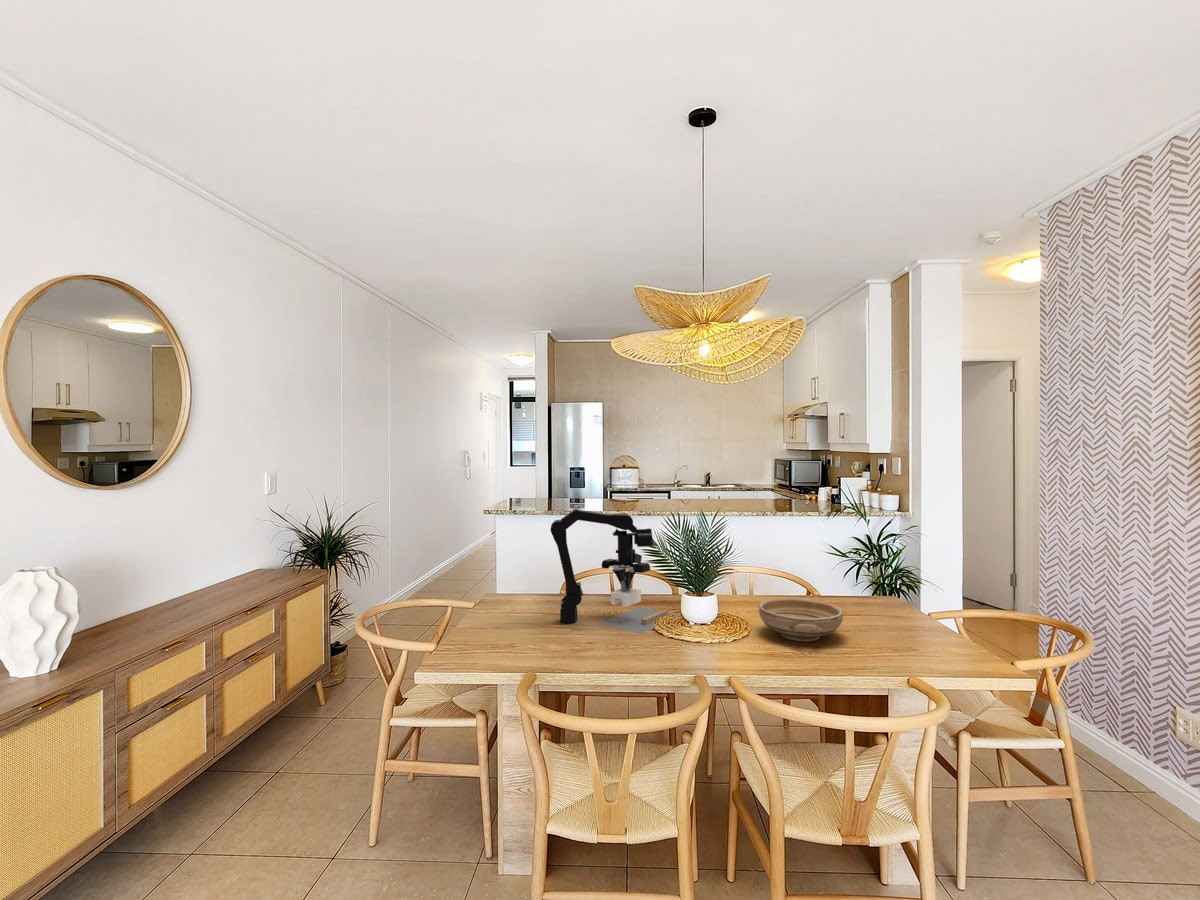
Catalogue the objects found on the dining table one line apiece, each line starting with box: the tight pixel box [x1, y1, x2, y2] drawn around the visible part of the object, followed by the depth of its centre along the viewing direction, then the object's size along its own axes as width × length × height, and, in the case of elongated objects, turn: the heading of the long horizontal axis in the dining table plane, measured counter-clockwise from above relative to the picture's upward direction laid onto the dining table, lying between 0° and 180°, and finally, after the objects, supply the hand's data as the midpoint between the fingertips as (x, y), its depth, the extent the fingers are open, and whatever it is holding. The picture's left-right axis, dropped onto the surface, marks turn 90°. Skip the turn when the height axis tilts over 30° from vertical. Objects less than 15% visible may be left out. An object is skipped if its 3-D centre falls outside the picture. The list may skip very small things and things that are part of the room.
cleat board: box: [596, 606, 682, 634], centre depth 234 cm, size 30×20×3 cm, turn 144°
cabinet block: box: [610, 580, 642, 608], centre depth 232 cm, size 10×7×8 cm
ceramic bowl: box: [758, 597, 844, 642], centre depth 216 cm, size 37×29×10 cm
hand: (625, 588), depth 232 cm, fingers closed on cabinet block
